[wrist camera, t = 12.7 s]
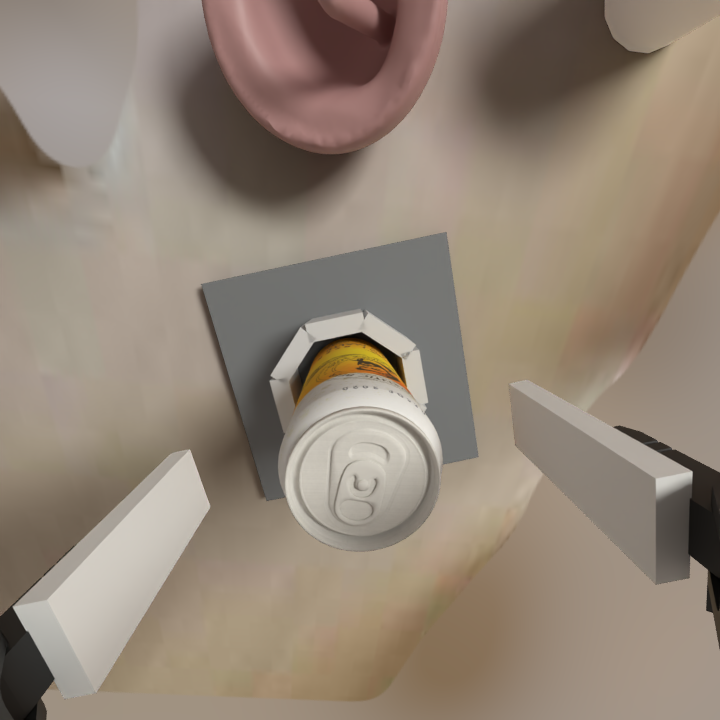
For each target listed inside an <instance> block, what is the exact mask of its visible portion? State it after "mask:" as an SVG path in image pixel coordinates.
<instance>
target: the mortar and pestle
mask: <svg viewBox="0 0 720 720" xmlns="http://www.w3.org/2000/svg"><path fill="white" fill-rule="evenodd" d="M447 5H448V0H202V6H203V11H204V18H205V22H206V26H207V31H208V35H209V39H210V42H211V45H212V48H213V51H214V53H215V56H216V59H217V61H218V63H219V66H220V68H221V71H222V73H223V75H224V76H225V78H226V80H227V82H228V84H229V85H230V87H231V89H232V90H233V92H234V94H235V95H236V97H237V98H238V99H239V101H240V102H241V103H242V105H243V106H244V107H245V109H246V110H247V111H248V112H249V113H250V114H251V116H252V117H253V118H254V119H255V120H256V121H257V122H258V123H259V124H261V125H262V126H263V127H264V128H265V129H267V130H268V131H269V132H270V133H272V134H273V135H275V136H276V137H278V138H279V139H281V140H282V141H284V142H286V143H288V144H290V145H292V146H294V147H297V148H300V149H303V150H306V151H309V152H314V153H320V154H343V153H349V152H353V151H356V150H359V149H362V148H364V147H367V146H369V145H371V144H373V143H375V142H376V141H378V140H380V139H381V138H383V137H384V136H385V135H387V134H388V133H389V132H390V131H392V130H393V129H394V128H395V127H396V126H397V125H398V124H399V123H400V122H401V121H402V120H403V119H404V118H405V116H406V115H407V114H408V113H409V112H410V110H411V109H412V108H413V106H414V105H415V103H416V102H417V100H418V98H419V97H420V95H421V93H422V91H423V89H424V88H425V86H426V84H427V82H428V80H429V78H430V75H431V73H432V71H433V68H434V65H435V63H436V60H437V57H438V54H439V50H440V46H441V42H442V38H443V33H444V28H445V21H446V15H447Z"/></svg>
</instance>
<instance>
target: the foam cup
mask: <svg viewBox="0 0 720 720" xmlns="http://www.w3.org/2000/svg"><path fill="white" fill-rule="evenodd" d="M719 15H720V0H605V20H606V22H607V24H608V27H609V29H610V32H611V34H612V36H613V38H614V39H615V40H616V41H617V42H619V43H620V44H621V45H622V46H624V47H625V48H626V49H627V50H628V51H633V52H642V53H651V52H653V51H656V50H658V49H660V48H663V47H665V46H668V45H669V44H671V43H672V42H674V41H676V40H679V39H680V38H682V37H684V36H685V35H687V34H689V33H690V32H692V31H694V30H696V29H697V28H699V27H701V26H702V25H704V24H706V23H707V22H709V21H711V20H712V19H714V18H716V17H718V16H719Z"/></svg>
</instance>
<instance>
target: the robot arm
mask: <svg viewBox="0 0 720 720" xmlns="http://www.w3.org/2000/svg"><path fill="white" fill-rule="evenodd" d="M509 392H510V402H511V411H512V420H513V430H514V439H515V446H516V447H517V448H518V449H519V450H520V451H521V452H522V453H523V454H524V455H525V456H526V457H527V458H528V459H529V460H530V461H531V462H532V463H533V464H534V465H536V466H537V467H538V468H539V469H540V470H541V471H542V472H543V473H544V474H545V475H546V476H547V477H548V478H549V479H550V480H551V481H552V482H553V483H554V484H555V485H556V486H557V487H558V488H559V489H560V490H561V491H562V492H563V493H564V494H565V495H566V496H567V497H568V498H569V499H570V500H571V501H572V502H573V503H574V504H575V505H576V506H577V507H578V508H579V509H580V510H581V511H582V512H583V513H584V514H585V515H586V516H587V517H588V518H589V519H590V520H591V521H592V522H593V523H594V524H595V525H596V526H597V527H598V528H599V529H600V530H601V531H602V532H603V533H604V534H605V535H606V536H607V537H608V538H609V539H610V540H611V541H612V542H613V543H614V544H615V545H616V546H617V547H618V548H619V549H620V550H621V551H622V552H623V553H624V554H625V555H626V556H627V557H628V558H629V559H630V560H632V562H633V563H634V564H635V565H636V566H637V567H638V568H639V569H640V570H641V571H642V572H644V574H646V576H648V577H649V578H650V579H651V580H652V581H653V582H654V583H655V584H656V585H657V584H661V583H667V582H672V581H677V580H683V579H688V578H689V575H690V574H689V573H690V556H692V557H693V558H694V559H695V560H697V561H698V562H699V563H700V564H702V565H703V566H704V567H705V568H707V569H708V585H707V606H706V610H707V611H709V612H712V613H713V615H714V621H715V626H716V631H717V637H718V642H719V648H720V473H719V472H717V471H716V470H714V469H712V468H710V467H708V466H706V465H704V464H702V463H700V462H698V461H696V460H694V459H692V458H690V457H688V456H687V455H685V454H683V453H681V452H679V451H677V450H672V448H671V447H669V446H667V445H665V444H663V443H661V442H658V441H657V440H655V439H654V438H652V437H650V436H648V435H646V434H644V433H642V432H640V431H636V430H633V429H629V428H626V427H623V426H615V427H612V426H610V425H608V424H606V423H604V422H603V421H601V420H599V419H597V418H595V417H593V416H592V415H590V414H588V413H586V412H585V411H583V410H581V409H579V408H577V407H576V406H574V405H572V404H570V403H568V402H567V401H565V400H563V399H561V398H559V397H558V396H556V395H554V394H552V393H550V392H549V391H547V390H545V389H543V388H541V387H540V386H538V385H536V384H534V383H532V382H531V381H529V380H524V381H519V382H514V383H509ZM209 508H210V504H209V501H208V499H207V496H206V493H205V490H204V487H203V485H202V482H201V479H200V476H199V473H198V471H197V468H196V465H195V462H194V459H193V457H192V454H191V451H190V449H188V450H183V451H178V452H173V453H171V454H170V455H169V456H168V457H167V458H166V459H165V460H164V461H163V462H162V463H161V464H159V465H158V466H157V467H156V468H155V469H154V470H153V471H152V472H151V473H150V474H149V475H148V476H147V477H146V478H145V479H144V480H143V481H142V482H141V483H140V484H139V485H138V486H137V487H136V488H135V489H134V490H133V491H132V492H131V493H130V494H129V495H127V496H126V497H125V498H124V499H123V500H122V501H121V502H120V503H119V504H118V505H117V506H116V507H115V508H114V509H113V510H112V511H111V512H110V513H109V514H108V515H107V516H106V517H105V518H104V519H103V520H102V521H101V522H100V523H99V524H98V525H96V526H95V527H94V528H93V529H92V530H91V531H90V532H89V533H88V534H87V535H86V536H85V537H84V538H83V539H82V540H81V541H80V542H79V543H78V544H76V545H75V546H73V547H72V548H71V549H70V550H69V551H68V552H67V553H66V554H65V555H64V556H63V557H62V558H61V559H60V560H59V561H58V562H57V564H56V565H53V566H52V567H51V568H50V569H49V570H48V571H47V572H46V573H45V574H44V577H43V578H40V579H39V580H38V581H37V582H36V583H35V584H34V585H33V586H32V587H31V588H30V589H28V590H27V591H26V592H25V593H24V594H23V595H22V596H21V597H20V598H19V599H18V600H17V601H16V602H15V603H14V604H13V605H12V606H11V607H10V608H9V609H8V610H7V611H6V612H5V613H4V614H3V615H1V616H0V720H46V714H47V711H46V708H45V705H44V703H43V701H42V700H41V697H42V696H43V694H44V693H45V692H46V690H47V689H48V687H49V686H50V685H51V683H52V682H53V681H54V682H55V683H56V685H57V687H58V689H59V690H60V692H61V694H62V696H63V698H64V699H68V698H74V697H79V696H84V695H89V694H94V693H97V691H98V689H99V688H100V686H101V684H102V683H103V681H104V680H105V678H106V676H107V675H108V673H109V671H110V670H111V668H112V667H113V665H114V663H115V662H116V660H117V658H118V657H119V655H120V654H121V652H122V650H123V649H124V647H125V645H126V644H127V642H128V640H129V639H130V637H131V636H132V634H133V632H134V631H135V629H136V627H137V626H138V624H139V623H140V621H141V619H142V618H143V616H144V614H145V613H146V611H147V610H148V608H149V606H150V605H151V603H152V601H153V600H154V598H155V596H156V595H157V593H158V592H159V590H160V588H161V587H162V585H163V583H164V582H165V580H166V579H167V577H168V575H169V574H170V572H171V570H172V569H173V567H174V566H175V564H176V562H177V561H178V559H179V557H180V556H181V554H182V552H183V551H184V549H185V548H186V546H187V544H188V543H189V541H190V539H191V538H192V536H193V535H194V533H195V531H196V530H197V528H198V526H199V525H200V523H201V522H202V520H203V518H204V517H205V515H206V513H207V512H208V510H209Z"/></svg>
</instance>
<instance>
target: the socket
mask: <svg viewBox="0 0 720 720" xmlns="http://www.w3.org/2000/svg"><path fill="white" fill-rule="evenodd" d="M201 285H202V288H203V291H204V295H205V298H206V301H207V305H208V308H209V311H210V315H211V318H212V321H213V325H214V328H215V331H216V335H217V338H218V341H219V345H220V348H221V351H222V355H223V358H224V361H225V364H226V368H227V371H228V374H229V378H230V381H231V384H232V388H233V391H234V394H235V398H236V401H237V404H238V408H239V411H240V414H241V418H242V421H243V424H244V428H245V431H246V434H247V438H248V441H249V444H250V448H251V451H252V454H253V457H254V461H255V464H256V467H257V471H258V474H259V477H260V481H261V484H262V487H263V491H264V494H265V497H266V501H269V500H274V499H279V498H284V497H285V495H284V492H283V490H282V487H281V484H280V479H279V473H278V457H279V452H280V447H281V444H282V441H283V438H284V435H285V433H286V430H287V428H288V425H289V422H290V420H291V417H292V415H293V412H294V409H295V407H296V404H297V402H298V399H299V396H300V394H301V391H302V389H303V386H304V383H305V381H306V378H307V376H308V373H309V370H310V368H311V365H312V363H313V361H314V359H315V357H316V355H317V354H318V353H319V352H320V351H321V350H322V349H323V348H324V347H325V346H326V345H328V344H330V343H331V342H334V341H336V340H339V339H344V338H357V339H362V340H365V341H367V342H369V343H371V344H373V345H374V346H376V347H377V348H378V349H379V350H380V351H381V352H382V353H383V355H384V356H385V357H386V359H387V360H388V362H389V363H390V364H391V366H392V367H393V369H394V370H395V372H396V373H397V374H398V376H399V377H400V379H401V380H402V381H403V383H404V384H405V386H406V387H407V389H408V390H409V391H410V393H411V394H412V396H413V397H414V398H415V400H416V401H417V403H418V404H419V405H420V407H421V408H422V410H423V411H424V413H425V414H426V415H427V417H428V418H429V420H430V421H431V423H432V424H433V426H434V428H435V430H436V432H437V434H438V437H439V440H440V443H441V448H442V456H443V464H447V463H452V462H457V461H462V460H466V459H471V458H476V457H478V450H477V443H476V436H475V429H474V422H473V415H472V408H471V401H470V394H469V387H468V380H467V373H466V366H465V359H464V352H463V345H462V338H461V331H460V324H459V317H458V310H457V303H456V296H455V289H454V282H453V275H452V268H451V261H450V254H449V247H448V240H447V233H446V232H444V233H439V234H435V235H430V236H425V237H421V238H416V239H411V240H406V241H402V242H397V243H392V244H388V245H383V246H378V247H374V248H369V249H364V250H359V251H355V252H350V253H345V254H341V255H336V256H331V257H326V258H322V259H317V260H312V261H308V262H303V263H298V264H294V265H289V266H284V267H279V268H275V269H270V270H265V271H261V272H256V273H251V274H246V275H242V276H237V277H232V278H228V279H223V280H218V281H213V282H209V283H204V284H201Z"/></svg>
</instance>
